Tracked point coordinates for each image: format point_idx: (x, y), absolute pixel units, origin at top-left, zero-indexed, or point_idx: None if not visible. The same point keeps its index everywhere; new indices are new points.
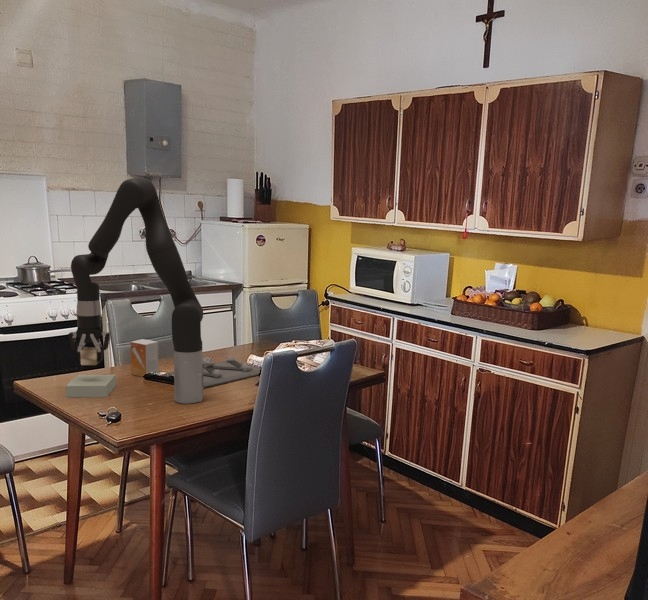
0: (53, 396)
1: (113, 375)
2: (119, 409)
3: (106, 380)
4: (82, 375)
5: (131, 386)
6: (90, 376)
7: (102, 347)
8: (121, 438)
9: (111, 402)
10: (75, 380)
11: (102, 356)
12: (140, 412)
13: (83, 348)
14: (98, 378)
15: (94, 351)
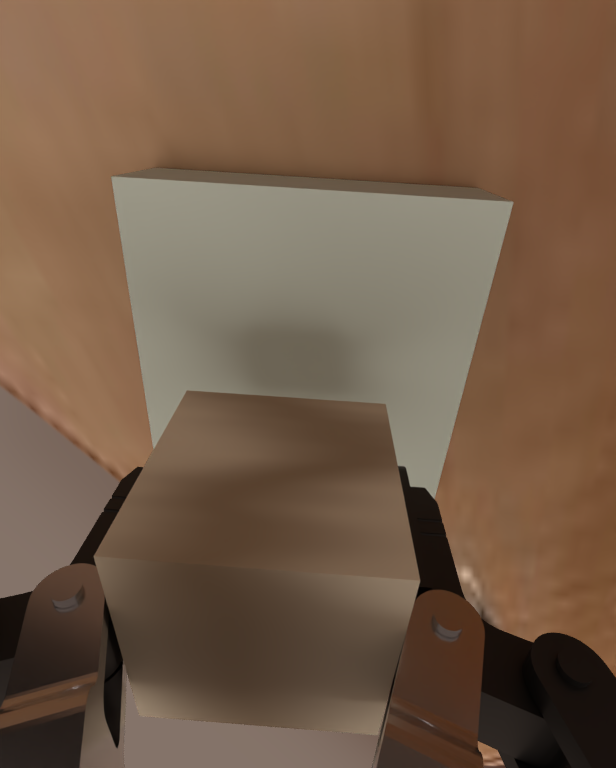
0: (97, 402)
1: (488, 236)
2: (490, 597)
3: (427, 389)
4: (169, 206)
5: (608, 230)
6: (261, 254)
7: (496, 740)
8: (489, 758)
9: (451, 521)
10: (171, 365)
11: (442, 526)
12: (579, 631)
13: (121, 628)
14: (351, 328)
15: (357, 718)
